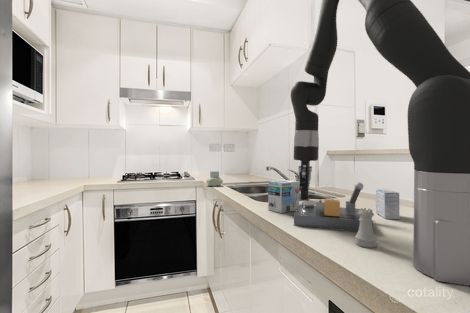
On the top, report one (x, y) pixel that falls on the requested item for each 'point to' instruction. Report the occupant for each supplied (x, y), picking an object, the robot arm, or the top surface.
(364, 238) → the rook chess piece
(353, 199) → the lever
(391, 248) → the top surface
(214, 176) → the air freshener
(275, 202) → the light bulb box
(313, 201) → the rocker paddle
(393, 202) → the medicine box
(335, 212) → the slider knob
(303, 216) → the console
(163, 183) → the top surface
